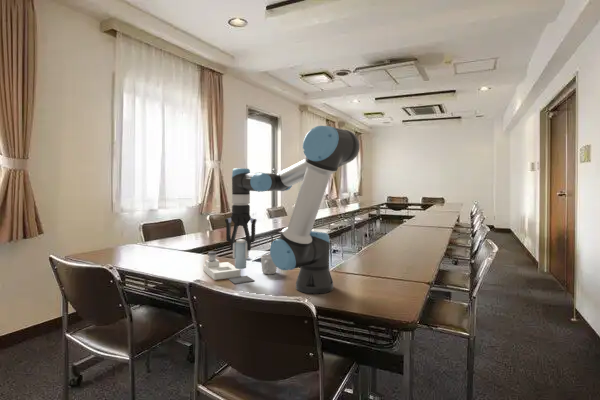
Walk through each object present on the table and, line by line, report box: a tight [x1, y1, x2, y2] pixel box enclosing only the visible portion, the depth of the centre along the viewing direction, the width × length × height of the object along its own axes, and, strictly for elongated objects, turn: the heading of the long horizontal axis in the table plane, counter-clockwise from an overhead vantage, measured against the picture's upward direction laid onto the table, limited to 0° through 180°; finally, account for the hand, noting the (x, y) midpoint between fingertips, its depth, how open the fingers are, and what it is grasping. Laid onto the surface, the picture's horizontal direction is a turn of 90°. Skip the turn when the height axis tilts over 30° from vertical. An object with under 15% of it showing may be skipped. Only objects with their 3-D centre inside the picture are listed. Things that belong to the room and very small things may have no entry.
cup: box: [260, 254, 278, 275], centre depth 162 cm, size 11×8×8 cm
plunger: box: [207, 251, 217, 262], centre depth 164 cm, size 4×4×6 cm
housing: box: [202, 258, 241, 281], centre depth 162 cm, size 18×12×6 cm, turn 30°
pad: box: [227, 275, 255, 285], centre depth 151 cm, size 9×9×1 cm
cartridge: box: [234, 238, 247, 270], centre depth 150 cm, size 5×5×12 cm
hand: (240, 257), depth 151 cm, fingers closed on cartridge, 5 cm apart
